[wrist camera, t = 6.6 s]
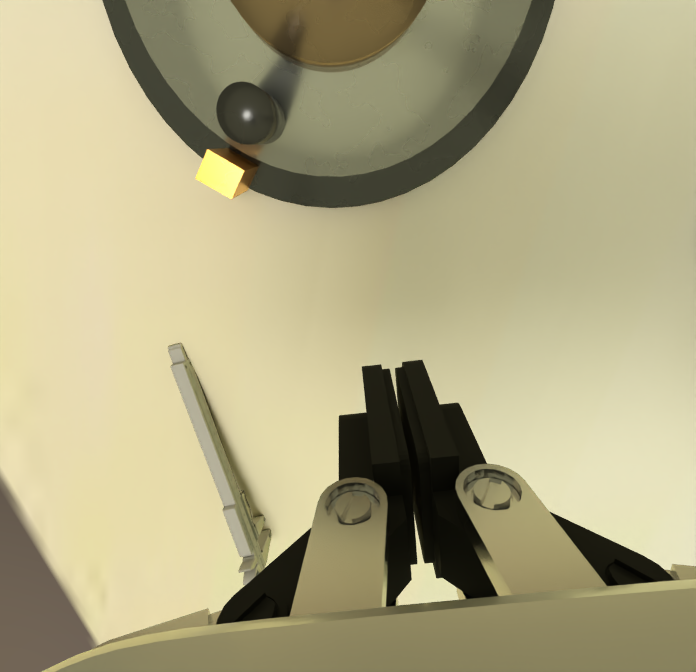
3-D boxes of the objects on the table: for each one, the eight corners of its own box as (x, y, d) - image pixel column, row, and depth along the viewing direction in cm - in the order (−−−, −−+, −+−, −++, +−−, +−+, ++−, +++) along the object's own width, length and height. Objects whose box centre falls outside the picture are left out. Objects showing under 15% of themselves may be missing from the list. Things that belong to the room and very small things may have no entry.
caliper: (273, 530, 40) (262, 593, 35) (261, 532, 41) (249, 596, 35) (182, 340, 32) (149, 383, 27) (168, 344, 32) (132, 387, 27)
